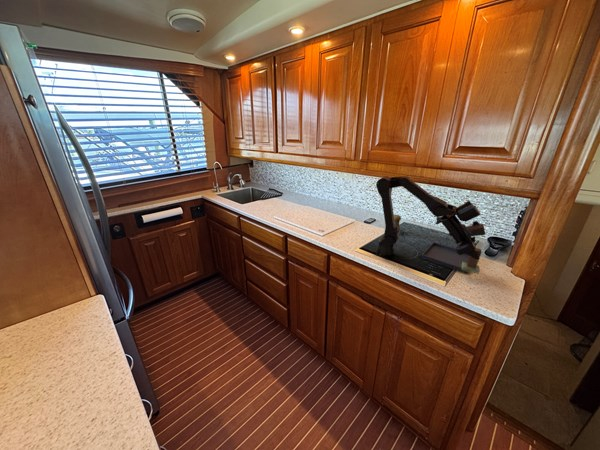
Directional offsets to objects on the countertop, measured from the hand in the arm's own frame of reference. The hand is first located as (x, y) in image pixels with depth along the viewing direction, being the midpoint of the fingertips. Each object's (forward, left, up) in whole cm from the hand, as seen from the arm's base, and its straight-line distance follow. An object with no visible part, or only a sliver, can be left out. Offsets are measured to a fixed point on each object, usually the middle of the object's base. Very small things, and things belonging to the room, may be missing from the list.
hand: (478, 257), depth 98 cm
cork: (-44, +23, -11) cm, 51 cm away
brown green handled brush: (-1, 0, -7) cm, 7 cm away
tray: (-12, +12, -10) cm, 20 cm away
